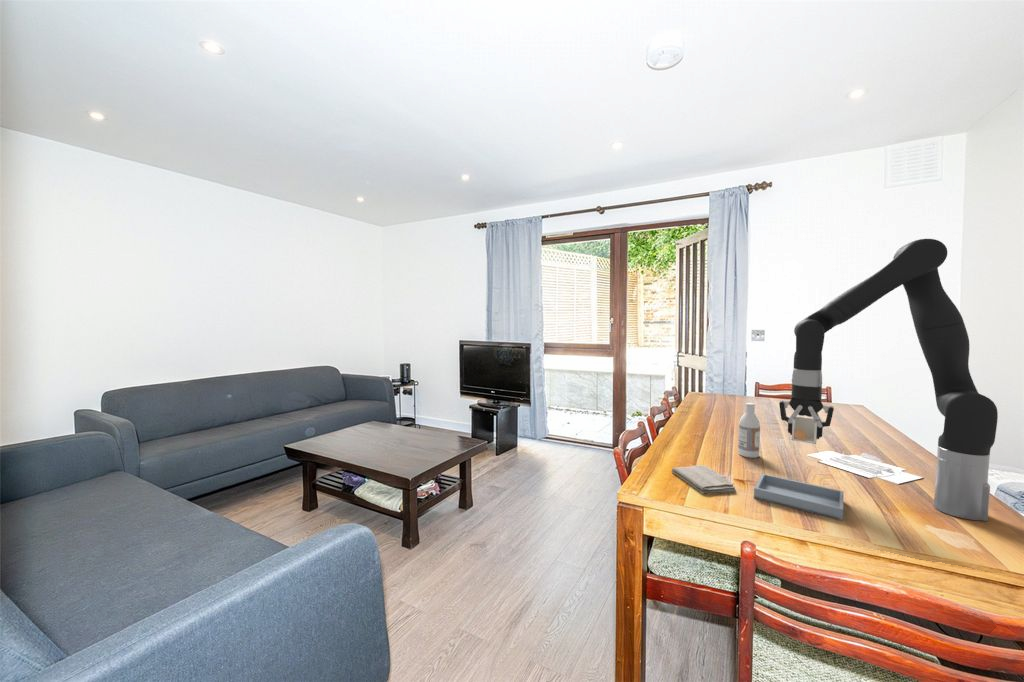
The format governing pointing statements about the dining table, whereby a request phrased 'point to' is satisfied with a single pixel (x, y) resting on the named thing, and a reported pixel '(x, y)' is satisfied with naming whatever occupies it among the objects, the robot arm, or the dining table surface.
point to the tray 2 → (865, 466)
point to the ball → (800, 434)
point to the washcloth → (704, 479)
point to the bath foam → (749, 433)
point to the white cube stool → (805, 429)
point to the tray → (800, 496)
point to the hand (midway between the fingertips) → (804, 436)
